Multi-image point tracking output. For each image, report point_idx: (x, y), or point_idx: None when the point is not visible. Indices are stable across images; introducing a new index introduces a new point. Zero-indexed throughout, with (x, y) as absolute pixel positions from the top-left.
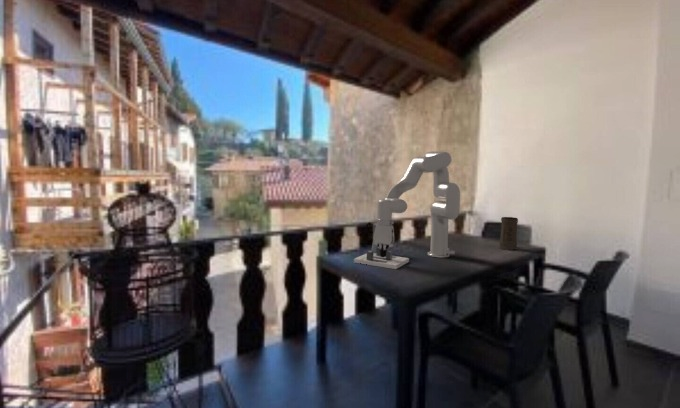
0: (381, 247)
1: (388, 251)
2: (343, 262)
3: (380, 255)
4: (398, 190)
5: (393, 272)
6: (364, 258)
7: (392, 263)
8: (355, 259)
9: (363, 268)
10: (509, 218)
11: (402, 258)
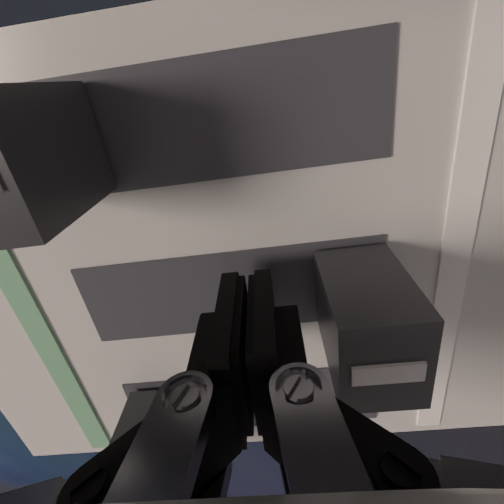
0: (225, 486)
1: (372, 384)
2: (4, 456)
3: (116, 185)
4: None
5: (490, 457)
6: (90, 406)
7: (456, 394)
8: (53, 449)
9: (239, 486)
10: None
11: None
